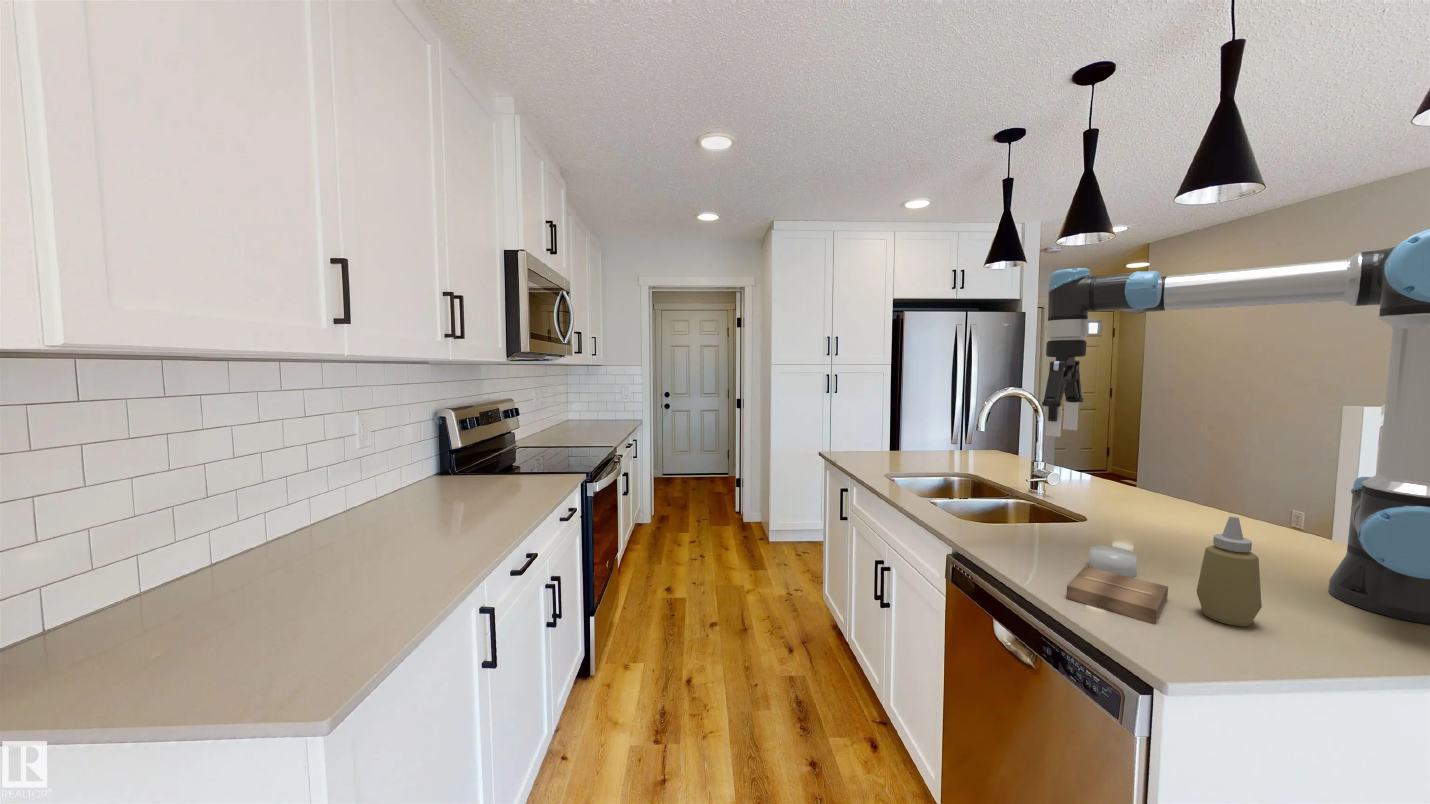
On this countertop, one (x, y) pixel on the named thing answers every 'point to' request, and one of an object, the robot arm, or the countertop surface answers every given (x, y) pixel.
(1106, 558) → the white dome cap
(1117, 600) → the plate
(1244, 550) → the squeeze bottle
